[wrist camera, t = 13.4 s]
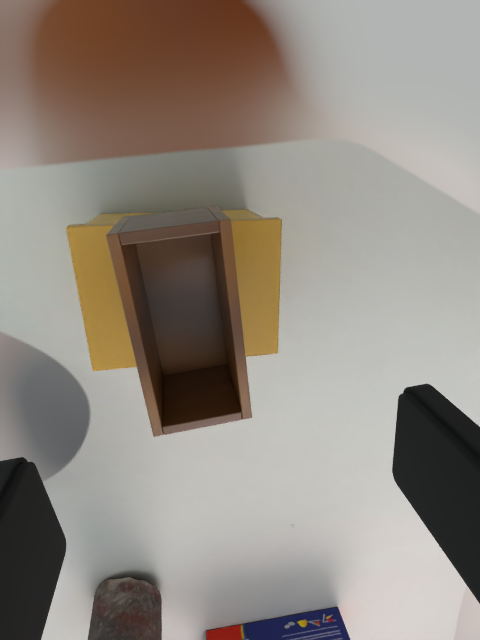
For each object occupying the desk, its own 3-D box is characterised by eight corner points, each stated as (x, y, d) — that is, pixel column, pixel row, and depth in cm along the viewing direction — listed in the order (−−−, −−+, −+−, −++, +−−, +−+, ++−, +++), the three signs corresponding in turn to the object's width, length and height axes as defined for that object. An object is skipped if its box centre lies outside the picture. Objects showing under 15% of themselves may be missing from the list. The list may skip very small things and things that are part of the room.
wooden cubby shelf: (121, 217, 20) (105, 234, 15) (215, 205, 20) (231, 218, 15) (156, 378, 24) (153, 437, 18) (234, 365, 24) (252, 418, 19)
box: (251, 205, 29) (281, 218, 21) (251, 309, 32) (277, 353, 24) (94, 209, 27) (65, 226, 19) (111, 319, 30) (92, 371, 23)
